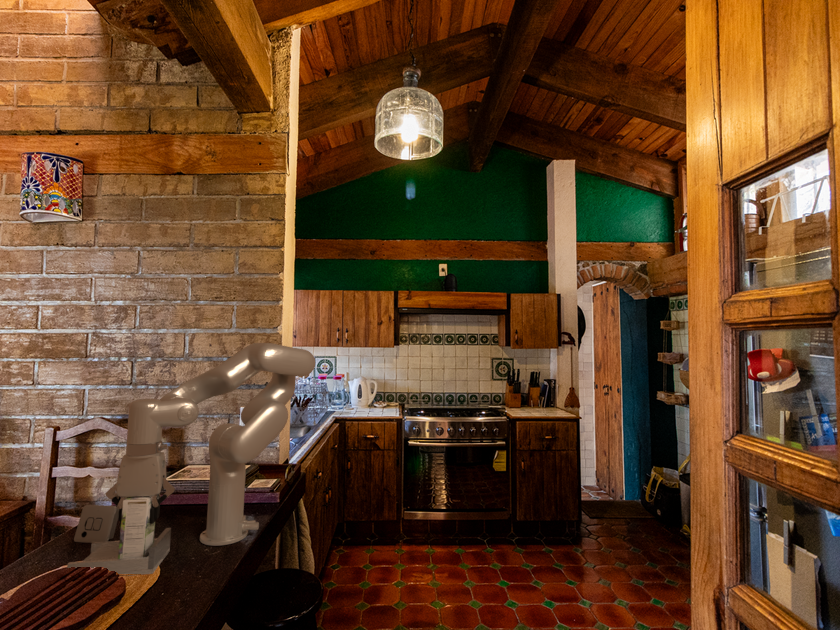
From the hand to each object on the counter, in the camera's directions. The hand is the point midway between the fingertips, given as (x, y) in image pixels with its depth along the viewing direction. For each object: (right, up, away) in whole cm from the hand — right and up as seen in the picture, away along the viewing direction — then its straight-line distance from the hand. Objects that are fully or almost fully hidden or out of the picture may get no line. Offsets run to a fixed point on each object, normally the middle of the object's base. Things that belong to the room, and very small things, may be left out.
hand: (138, 522), depth 109 cm
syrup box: (0, -8, -1) cm, 8 cm away
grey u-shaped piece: (-3, -10, -2) cm, 10 cm away
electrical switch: (-20, -11, +12) cm, 26 cm away
